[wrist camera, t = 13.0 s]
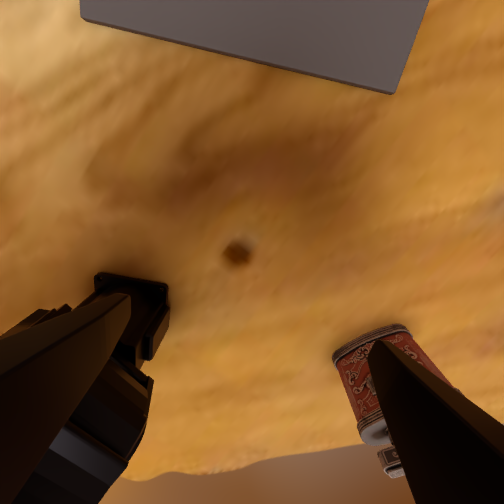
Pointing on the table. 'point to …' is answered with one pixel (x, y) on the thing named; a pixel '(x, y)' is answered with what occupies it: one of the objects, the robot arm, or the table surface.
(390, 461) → the lighter
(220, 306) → the table surface
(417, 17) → the rubber mat
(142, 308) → the robot arm
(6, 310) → the table surface
